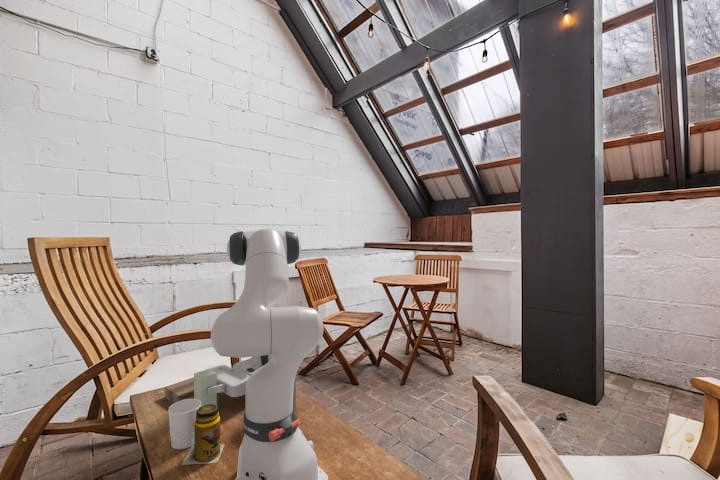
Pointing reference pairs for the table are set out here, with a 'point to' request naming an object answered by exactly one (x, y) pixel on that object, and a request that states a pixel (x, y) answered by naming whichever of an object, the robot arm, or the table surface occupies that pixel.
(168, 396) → the walnut base
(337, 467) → the table surface
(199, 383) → the sage block
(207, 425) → the condiment
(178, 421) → the white cup
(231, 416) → the table surface
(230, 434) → the table surface
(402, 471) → the table surface
